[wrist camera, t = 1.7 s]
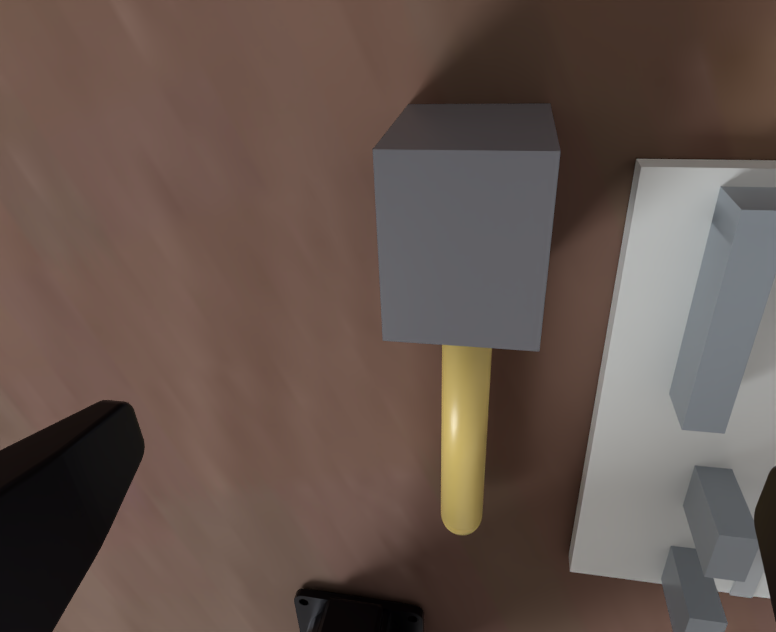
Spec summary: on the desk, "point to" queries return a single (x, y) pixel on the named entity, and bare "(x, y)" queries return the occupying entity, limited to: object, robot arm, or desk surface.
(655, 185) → the board
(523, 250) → the plug
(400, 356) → the desk surface
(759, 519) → the robot arm
